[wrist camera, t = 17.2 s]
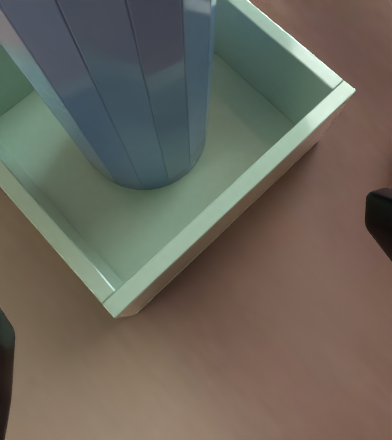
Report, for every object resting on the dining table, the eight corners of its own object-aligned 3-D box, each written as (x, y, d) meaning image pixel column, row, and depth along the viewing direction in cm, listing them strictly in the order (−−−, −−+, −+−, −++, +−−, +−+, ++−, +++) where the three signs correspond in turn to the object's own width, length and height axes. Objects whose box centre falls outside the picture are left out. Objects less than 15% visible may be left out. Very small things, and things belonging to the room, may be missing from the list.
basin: (320, 139, 19) (356, 90, 15) (135, 315, 17) (114, 318, 13) (155, -7, 22) (144, -88, 17) (-26, 132, 20) (-92, 81, 15)
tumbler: (216, 86, 20) (251, -316, 7) (195, 200, 18) (190, -47, 5) (99, 68, 20) (-74, -350, 7) (69, 178, 18) (-218, -104, 6)
